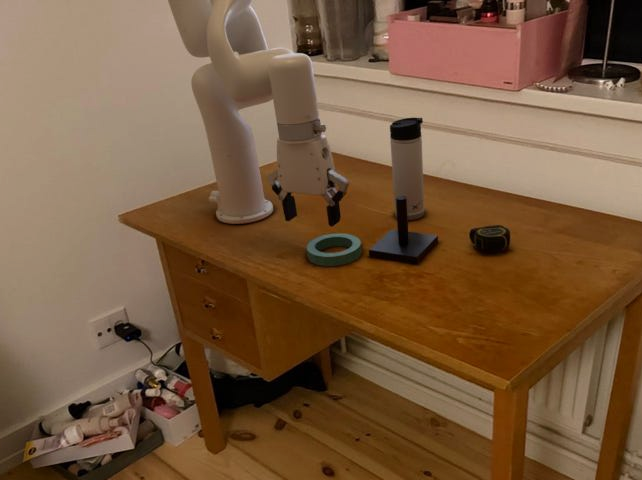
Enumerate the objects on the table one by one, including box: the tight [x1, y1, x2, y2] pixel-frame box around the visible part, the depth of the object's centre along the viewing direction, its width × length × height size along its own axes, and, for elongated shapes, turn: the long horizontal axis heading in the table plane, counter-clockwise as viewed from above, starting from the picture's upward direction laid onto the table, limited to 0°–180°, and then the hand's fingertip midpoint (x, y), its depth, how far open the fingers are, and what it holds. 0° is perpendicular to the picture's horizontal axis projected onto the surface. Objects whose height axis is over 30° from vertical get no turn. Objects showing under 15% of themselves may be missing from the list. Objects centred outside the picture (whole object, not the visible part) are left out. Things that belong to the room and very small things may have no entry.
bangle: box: [306, 232, 363, 267], centre depth 135 cm, size 10×10×2 cm
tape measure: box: [468, 224, 511, 253], centre depth 132 cm, size 7×7×4 cm
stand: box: [368, 196, 439, 265], centre depth 132 cm, size 10×10×10 cm
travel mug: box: [389, 117, 425, 221], centre depth 144 cm, size 6×7×20 cm
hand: (312, 221), depth 134 cm, fingers open, 9 cm apart
